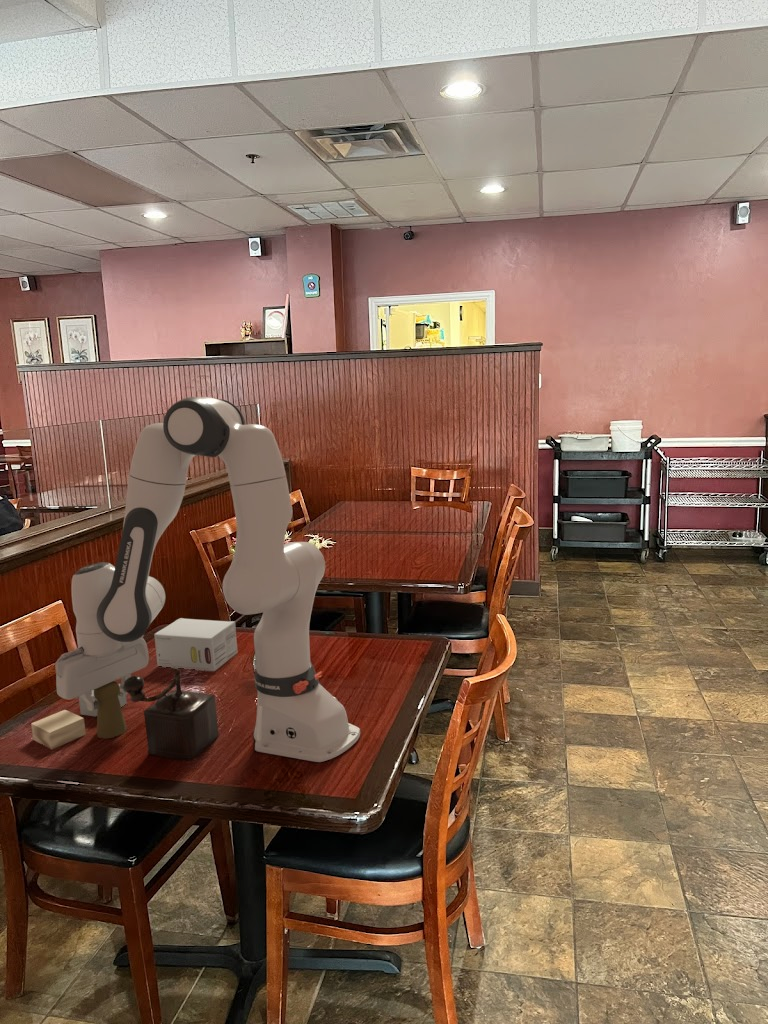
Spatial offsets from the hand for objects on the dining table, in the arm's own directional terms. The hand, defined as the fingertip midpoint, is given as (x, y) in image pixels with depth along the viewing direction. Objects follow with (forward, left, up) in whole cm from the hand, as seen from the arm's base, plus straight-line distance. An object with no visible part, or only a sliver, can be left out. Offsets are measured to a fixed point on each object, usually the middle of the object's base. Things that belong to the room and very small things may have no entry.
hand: (108, 702), depth 152 cm
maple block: (+8, +7, -7) cm, 13 cm away
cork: (0, 0, -7) cm, 7 cm away
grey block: (+11, -6, -7) cm, 14 cm away
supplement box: (+14, -37, -7) cm, 40 cm away
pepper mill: (-19, -1, -7) cm, 20 cm away
